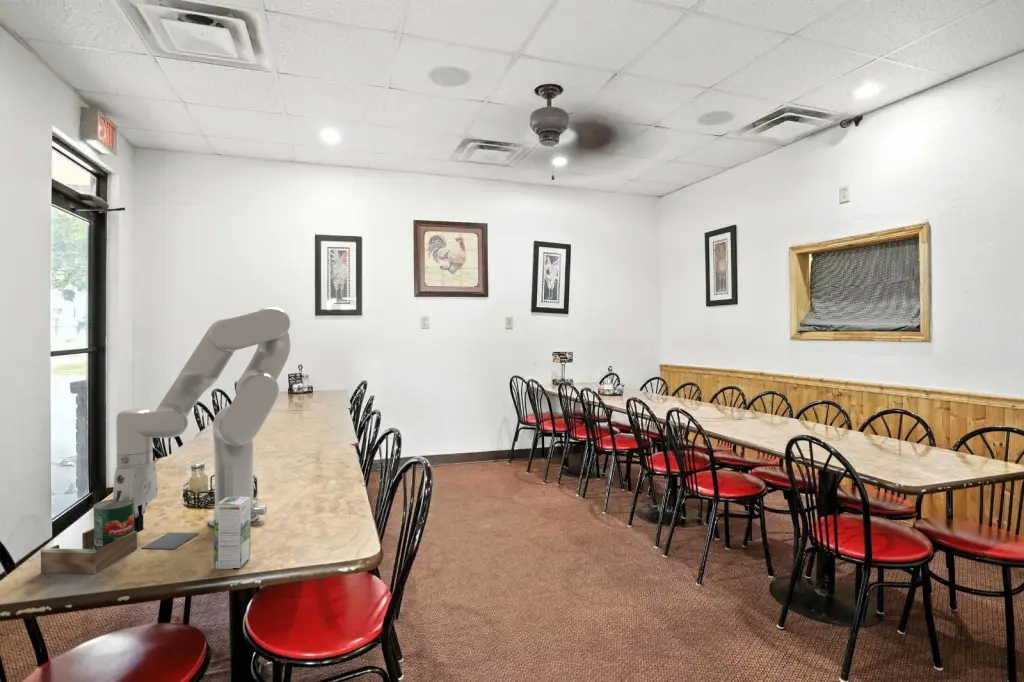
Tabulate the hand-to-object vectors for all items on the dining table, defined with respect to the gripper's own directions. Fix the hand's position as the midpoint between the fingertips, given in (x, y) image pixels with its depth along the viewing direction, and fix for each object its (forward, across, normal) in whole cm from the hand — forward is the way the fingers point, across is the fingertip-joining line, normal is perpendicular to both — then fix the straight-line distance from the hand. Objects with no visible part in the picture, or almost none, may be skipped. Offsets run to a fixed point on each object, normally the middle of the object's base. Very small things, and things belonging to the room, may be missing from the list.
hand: (135, 531), depth 139 cm
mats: (+2, -6, -3) cm, 7 cm away
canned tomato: (+2, -7, 0) cm, 7 cm away
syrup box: (+2, -14, -33) cm, 36 cm away
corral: (+2, -10, 0) cm, 10 cm away
